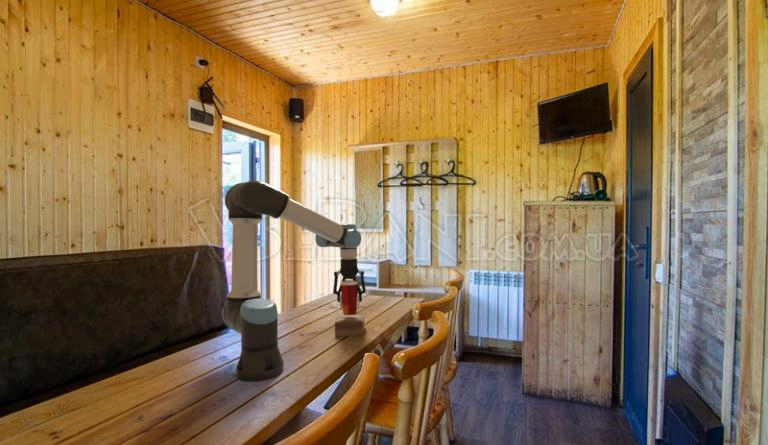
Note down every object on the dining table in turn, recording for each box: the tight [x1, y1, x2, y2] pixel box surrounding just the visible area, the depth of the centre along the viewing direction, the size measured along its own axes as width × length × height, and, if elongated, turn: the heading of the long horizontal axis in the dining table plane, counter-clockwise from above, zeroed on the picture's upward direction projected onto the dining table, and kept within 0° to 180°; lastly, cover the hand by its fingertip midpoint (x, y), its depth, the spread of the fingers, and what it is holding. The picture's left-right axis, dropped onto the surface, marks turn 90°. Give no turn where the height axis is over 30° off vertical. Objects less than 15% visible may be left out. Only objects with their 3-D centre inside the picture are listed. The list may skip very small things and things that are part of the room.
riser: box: [334, 314, 365, 337], centre depth 164 cm, size 12×12×6 cm
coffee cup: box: [339, 279, 358, 315], centre depth 164 cm, size 8×8×15 cm
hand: (349, 308), depth 164 cm, fingers closed on coffee cup, 7 cm apart
